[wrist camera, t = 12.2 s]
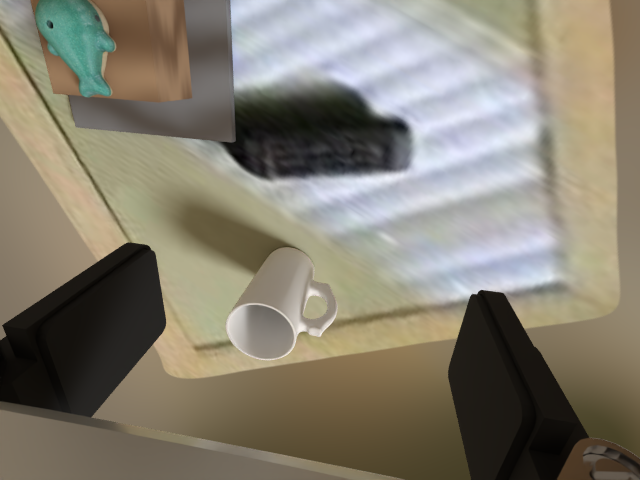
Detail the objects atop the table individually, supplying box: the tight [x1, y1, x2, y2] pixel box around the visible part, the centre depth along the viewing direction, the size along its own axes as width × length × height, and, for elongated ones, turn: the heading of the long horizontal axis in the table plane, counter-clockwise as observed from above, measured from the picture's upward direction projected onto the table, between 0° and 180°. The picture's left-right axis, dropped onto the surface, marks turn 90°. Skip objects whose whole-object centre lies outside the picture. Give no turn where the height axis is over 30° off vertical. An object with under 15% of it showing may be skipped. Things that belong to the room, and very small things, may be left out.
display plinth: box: [31, 0, 236, 142], centre depth 31 cm, size 18×18×7 cm
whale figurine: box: [35, 0, 116, 98], centre depth 27 cm, size 6×7×4 cm
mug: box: [226, 247, 337, 360], centre depth 38 cm, size 10×7×12 cm, turn 86°
